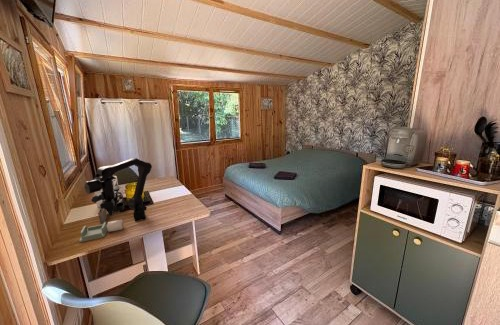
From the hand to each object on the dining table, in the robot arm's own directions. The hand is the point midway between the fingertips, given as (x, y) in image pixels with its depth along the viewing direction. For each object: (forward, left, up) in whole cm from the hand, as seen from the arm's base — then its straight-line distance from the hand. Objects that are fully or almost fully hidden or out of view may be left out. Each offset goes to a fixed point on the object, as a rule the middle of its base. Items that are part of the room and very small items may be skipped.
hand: (112, 212), depth 127 cm
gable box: (+12, -56, -12) cm, 58 cm away
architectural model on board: (+10, -21, -13) cm, 26 cm away
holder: (+11, -1, -12) cm, 16 cm away
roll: (0, 0, -12) cm, 12 cm away
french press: (+4, -34, -12) cm, 36 cm away
